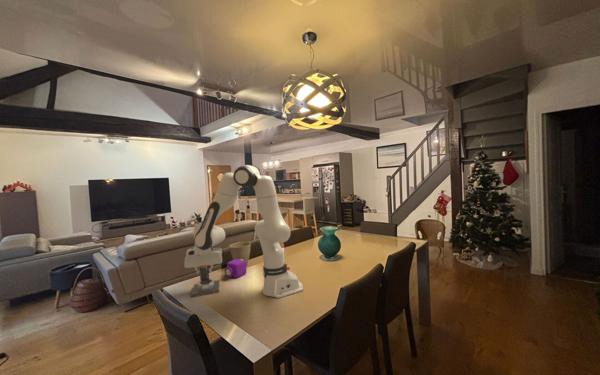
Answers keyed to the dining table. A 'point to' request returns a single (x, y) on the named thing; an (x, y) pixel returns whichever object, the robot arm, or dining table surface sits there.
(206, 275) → the dome-topped dark cylinder
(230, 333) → the dining table surface
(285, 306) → the dining table surface
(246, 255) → the plant pot
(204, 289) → the octagon ring plate
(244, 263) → the toy camera
